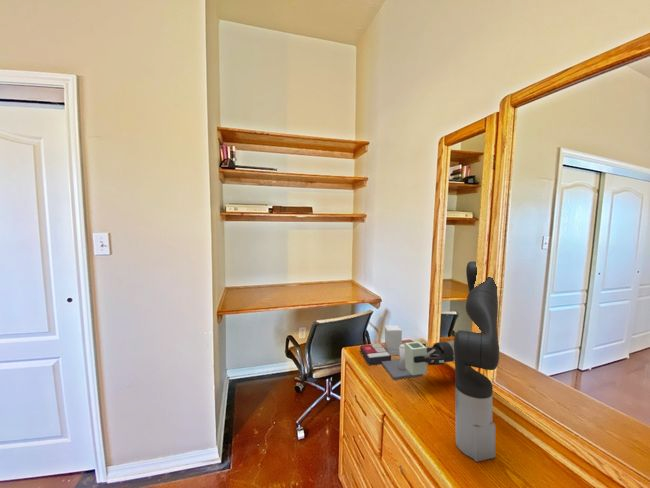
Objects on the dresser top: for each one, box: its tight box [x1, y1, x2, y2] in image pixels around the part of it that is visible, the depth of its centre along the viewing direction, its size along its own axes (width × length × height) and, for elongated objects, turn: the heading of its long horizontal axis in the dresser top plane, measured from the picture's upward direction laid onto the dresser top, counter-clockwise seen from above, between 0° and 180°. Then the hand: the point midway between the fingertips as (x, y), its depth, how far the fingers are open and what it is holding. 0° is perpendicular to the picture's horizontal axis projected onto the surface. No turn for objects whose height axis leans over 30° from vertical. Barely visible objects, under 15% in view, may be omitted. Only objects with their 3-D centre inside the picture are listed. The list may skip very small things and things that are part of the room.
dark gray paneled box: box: [359, 343, 392, 366], centre depth 132 cm, size 11×4×15 cm
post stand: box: [381, 343, 423, 381], centre depth 119 cm, size 14×13×12 cm
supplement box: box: [384, 324, 403, 356], centre depth 136 cm, size 7×7×13 cm
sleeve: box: [404, 341, 428, 375], centre depth 105 cm, size 6×6×10 cm
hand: (410, 356), depth 104 cm, fingers closed on sleeve, 6 cm apart
